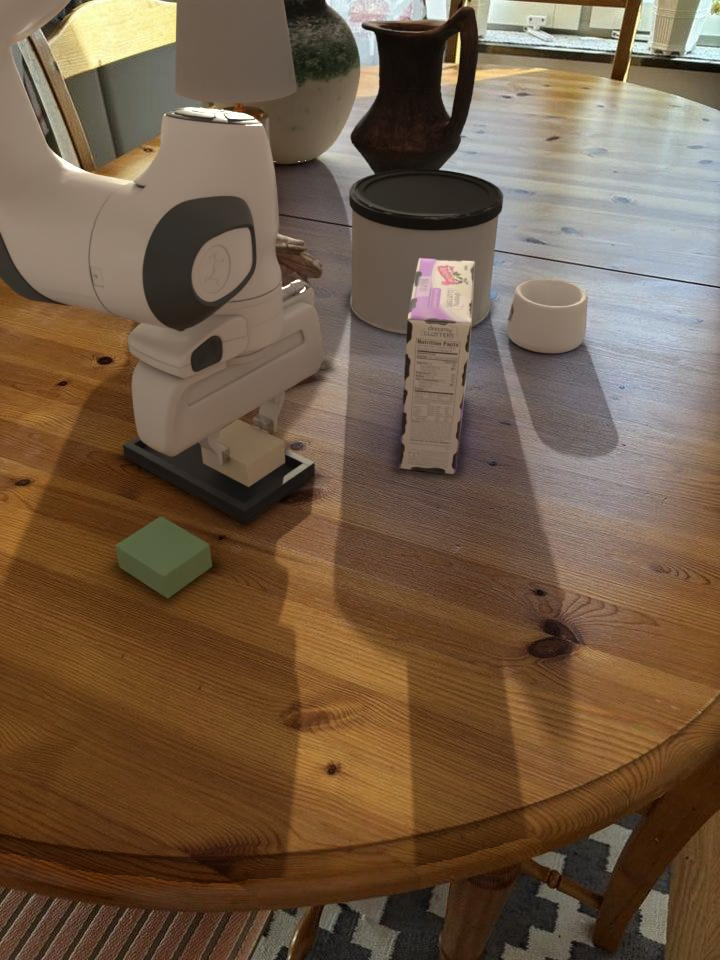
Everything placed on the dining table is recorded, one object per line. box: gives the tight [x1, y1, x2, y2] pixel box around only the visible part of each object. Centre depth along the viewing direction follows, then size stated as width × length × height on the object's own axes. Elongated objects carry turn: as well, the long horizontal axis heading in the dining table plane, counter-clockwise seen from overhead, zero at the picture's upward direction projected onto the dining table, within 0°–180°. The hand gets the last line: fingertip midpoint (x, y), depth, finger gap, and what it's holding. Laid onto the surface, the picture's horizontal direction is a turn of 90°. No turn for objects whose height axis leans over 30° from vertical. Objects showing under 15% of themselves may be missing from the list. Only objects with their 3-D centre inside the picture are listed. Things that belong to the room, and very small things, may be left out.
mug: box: [505, 278, 589, 354], centre depth 106 cm, size 12×10×6 cm
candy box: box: [398, 258, 475, 475], centre depth 84 cm, size 14×6×16 cm, turn 172°
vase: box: [213, 0, 361, 165], centre depth 158 cm, size 28×28×30 cm
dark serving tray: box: [122, 423, 316, 525], centre depth 84 cm, size 10×17×2 cm, turn 52°
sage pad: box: [115, 515, 213, 599], centre depth 72 cm, size 5×6×2 cm
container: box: [348, 169, 504, 335], centre depth 110 cm, size 19×19×15 cm
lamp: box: [174, 0, 297, 148], centre depth 136 cm, size 19×19×34 cm
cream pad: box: [201, 418, 286, 487], centre depth 81 cm, size 5×6×2 cm
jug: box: [350, 5, 479, 174], centre depth 140 cm, size 21×18×30 cm
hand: (242, 448), depth 80 cm, fingers closed on cream pad, 5 cm apart
